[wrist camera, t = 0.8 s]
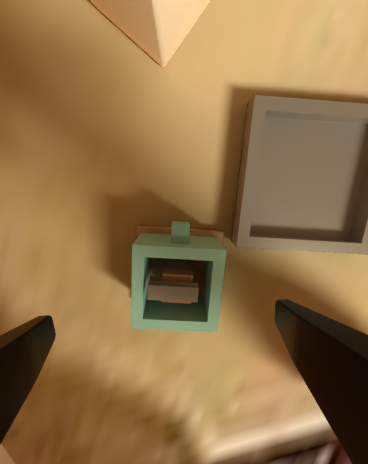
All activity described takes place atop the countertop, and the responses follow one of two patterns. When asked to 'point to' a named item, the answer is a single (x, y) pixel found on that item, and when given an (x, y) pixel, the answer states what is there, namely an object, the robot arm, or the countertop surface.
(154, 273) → the brown peg stand
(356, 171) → the tray
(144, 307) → the ring
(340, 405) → the robot arm
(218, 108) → the countertop surface
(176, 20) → the labeled white jar
